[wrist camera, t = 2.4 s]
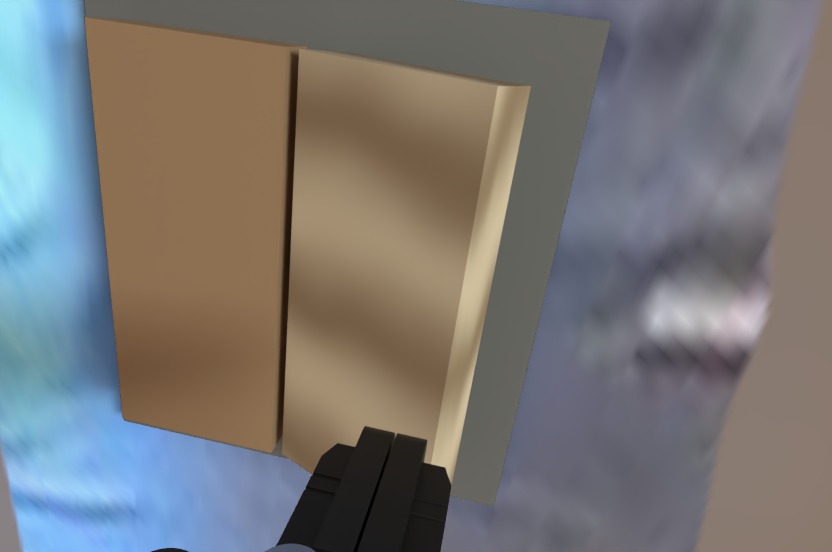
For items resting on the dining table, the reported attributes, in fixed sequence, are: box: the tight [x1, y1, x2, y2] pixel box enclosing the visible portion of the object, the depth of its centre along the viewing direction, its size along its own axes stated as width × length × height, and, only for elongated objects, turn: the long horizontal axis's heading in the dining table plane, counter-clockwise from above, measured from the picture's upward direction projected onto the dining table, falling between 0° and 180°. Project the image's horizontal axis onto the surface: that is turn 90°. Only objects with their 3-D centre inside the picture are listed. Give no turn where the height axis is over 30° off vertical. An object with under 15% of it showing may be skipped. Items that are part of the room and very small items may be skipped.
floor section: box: [84, 0, 611, 506], centre depth 22 cm, size 20×18×3 cm
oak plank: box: [282, 49, 531, 486], centre depth 20 cm, size 16×7×2 cm, turn 172°
